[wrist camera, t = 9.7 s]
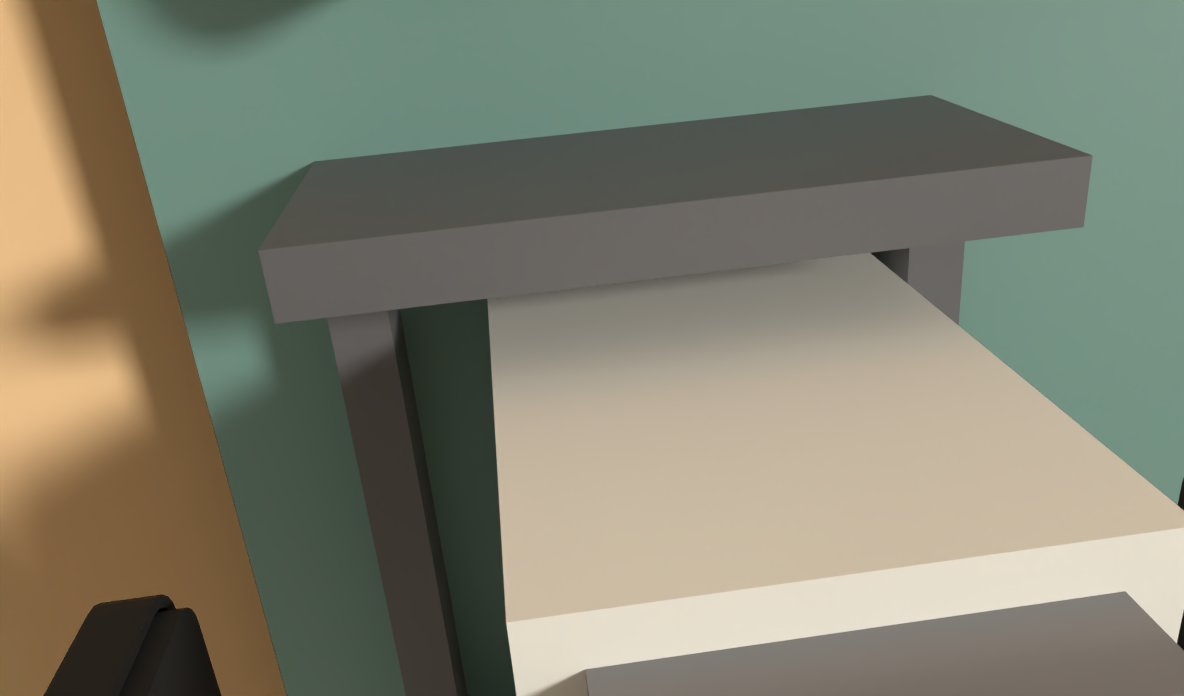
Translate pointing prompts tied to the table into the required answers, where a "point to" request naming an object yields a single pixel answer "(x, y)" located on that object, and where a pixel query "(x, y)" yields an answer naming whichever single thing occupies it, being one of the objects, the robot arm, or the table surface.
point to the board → (613, 240)
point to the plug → (810, 501)
